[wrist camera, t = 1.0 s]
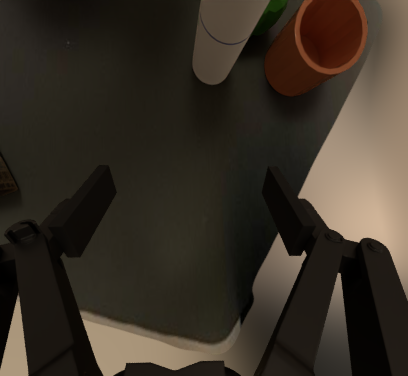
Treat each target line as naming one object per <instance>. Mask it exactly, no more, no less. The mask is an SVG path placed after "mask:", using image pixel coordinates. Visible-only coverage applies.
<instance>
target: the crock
mask: <svg viewBox="0 0 408 376" xmlns="http://www.w3.org/2000/svg"><path fill="white" fill-rule="evenodd" d="M366 38H367V20H366V17H365V13H364V10H363V8H362V6H361V5H360V3H359V2H358V0H305V1H304V2H303V3H302V4H301V6H300V7H299V8H298V9H297V11H296V12H295V13H294V15H293V16H292V17H291V18H290V20H289V21H288V22H287V24H286V25H285V26H284V27H283V29H282V30H281V31H280V33H279V34H278V35H277V36H276V38H275V39H274V40H273V42H272V43H271V45H270V46H269V48H268V50H267V53H266V56H265V63H264V67H265V74H266V77H267V79H268V81H269V83H270V85H271V86H272V87H273V88H274V89H275V90H276V91H277V92H279V93H280V94H282V95H285V96H299V95H301V94H304V93H305V92H307V91H309V90H311V89H313V88H315V87H316V86H318V85H320V84H322V83H324V82H325V81H327V80H329V79H331V78H333V77H335V76H336V75H338V74H340V73H342V72H344V71H345V70H347V69H349V68H351V66H352V65H353V64H354V63H355V62H356V61H357V60H358V59H359V57H360V55H361V53H362V51H363V49H364V47H365V43H366Z"/></svg>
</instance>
